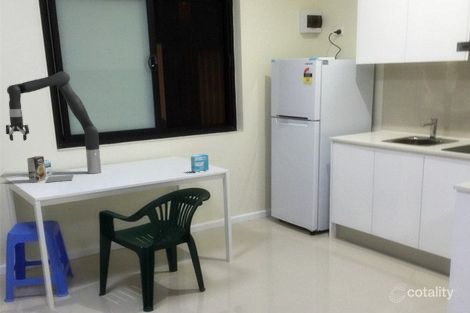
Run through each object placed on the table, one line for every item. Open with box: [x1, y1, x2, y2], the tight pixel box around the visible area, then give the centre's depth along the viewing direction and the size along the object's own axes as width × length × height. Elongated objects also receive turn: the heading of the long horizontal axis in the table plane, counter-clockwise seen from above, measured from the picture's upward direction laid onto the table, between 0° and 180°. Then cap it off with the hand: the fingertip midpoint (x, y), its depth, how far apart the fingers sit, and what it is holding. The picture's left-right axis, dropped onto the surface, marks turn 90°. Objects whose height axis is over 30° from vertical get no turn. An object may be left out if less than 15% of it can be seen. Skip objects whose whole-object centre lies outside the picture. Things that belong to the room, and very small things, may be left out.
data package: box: [190, 153, 210, 173], centre depth 312 cm, size 12×4×12 cm, turn 126°
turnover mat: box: [45, 174, 74, 184], centre depth 296 cm, size 16×16×1 cm
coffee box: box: [26, 155, 47, 183], centre depth 291 cm, size 9×6×16 cm
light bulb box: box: [44, 159, 53, 177], centre depth 309 cm, size 11×7×11 cm, turn 74°
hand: (18, 140), depth 288 cm, fingers open, 8 cm apart
